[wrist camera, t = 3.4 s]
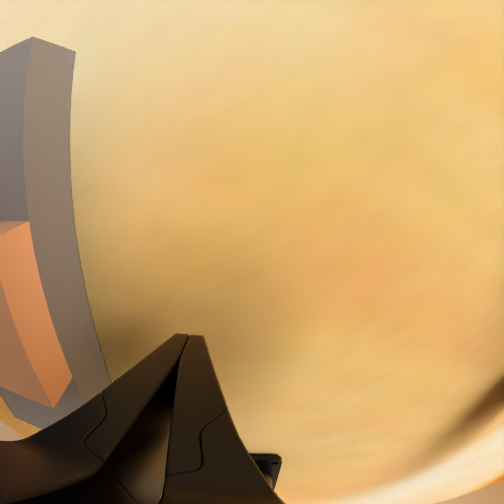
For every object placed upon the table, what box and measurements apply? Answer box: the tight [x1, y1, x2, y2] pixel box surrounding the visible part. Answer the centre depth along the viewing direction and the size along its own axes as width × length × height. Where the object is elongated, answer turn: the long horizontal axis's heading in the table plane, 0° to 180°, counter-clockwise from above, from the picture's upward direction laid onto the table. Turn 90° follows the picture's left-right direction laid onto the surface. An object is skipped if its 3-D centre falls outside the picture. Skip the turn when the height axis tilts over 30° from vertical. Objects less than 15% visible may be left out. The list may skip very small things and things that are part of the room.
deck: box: [0, 37, 112, 429], centre depth 11 cm, size 20×8×3 cm, turn 177°
